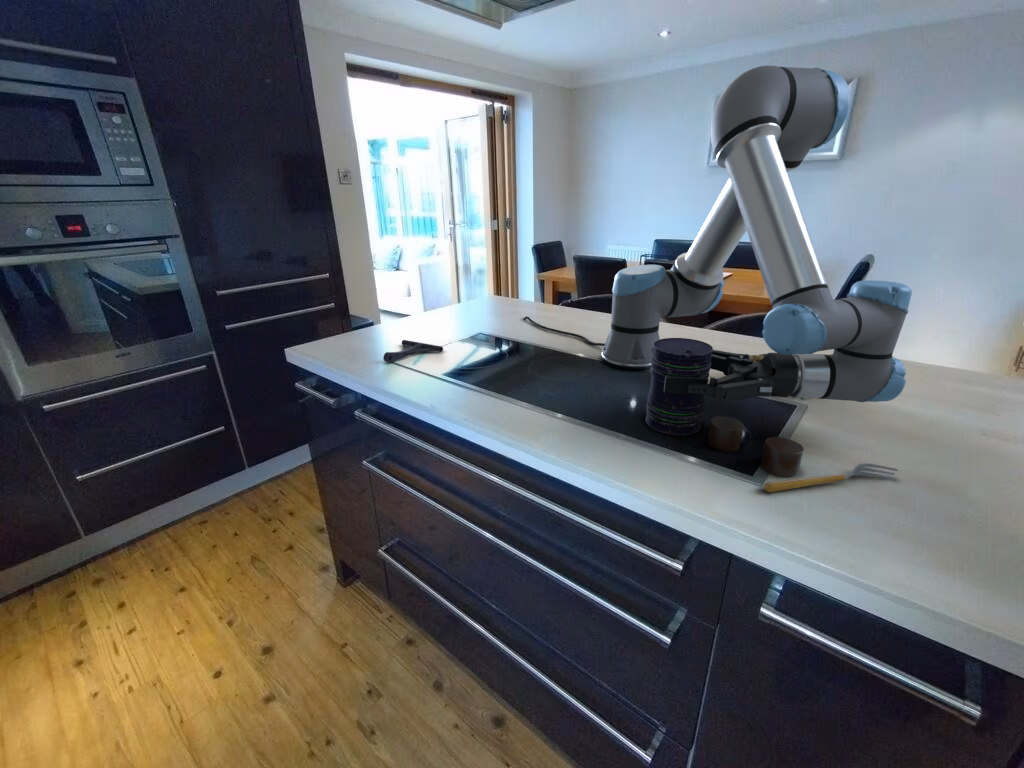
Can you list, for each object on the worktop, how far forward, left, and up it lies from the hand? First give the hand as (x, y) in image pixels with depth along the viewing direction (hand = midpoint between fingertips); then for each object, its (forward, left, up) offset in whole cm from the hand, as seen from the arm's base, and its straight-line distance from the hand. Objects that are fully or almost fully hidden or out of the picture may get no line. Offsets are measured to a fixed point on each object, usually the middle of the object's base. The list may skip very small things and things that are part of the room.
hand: (659, 369), depth 78 cm
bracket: (-67, -21, -11) cm, 71 cm away
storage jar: (+3, +2, -11) cm, 11 cm away
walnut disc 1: (+12, +2, -10) cm, 16 cm away
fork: (+28, +3, -11) cm, 30 cm away
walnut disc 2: (+21, +2, -10) cm, 24 cm away
